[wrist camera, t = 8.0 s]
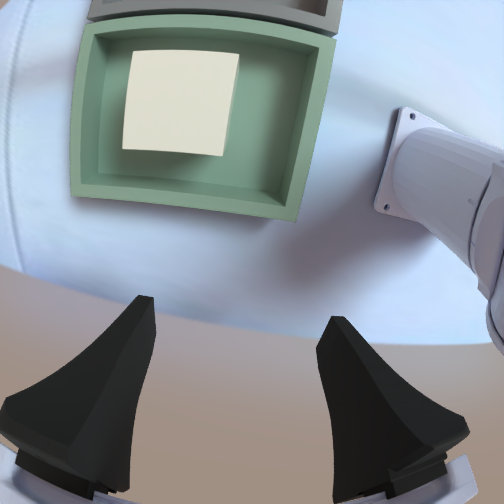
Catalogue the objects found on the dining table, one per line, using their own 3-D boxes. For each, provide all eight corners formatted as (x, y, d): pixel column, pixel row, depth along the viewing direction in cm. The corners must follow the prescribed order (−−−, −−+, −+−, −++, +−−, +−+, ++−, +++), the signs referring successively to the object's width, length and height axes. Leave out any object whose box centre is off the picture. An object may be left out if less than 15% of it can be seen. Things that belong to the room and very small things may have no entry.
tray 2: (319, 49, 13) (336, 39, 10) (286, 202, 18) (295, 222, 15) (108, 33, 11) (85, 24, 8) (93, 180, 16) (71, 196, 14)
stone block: (239, 68, 13) (239, 54, 9) (227, 142, 15) (222, 156, 11) (161, 64, 12) (133, 51, 8) (151, 136, 15) (122, 148, 11)
